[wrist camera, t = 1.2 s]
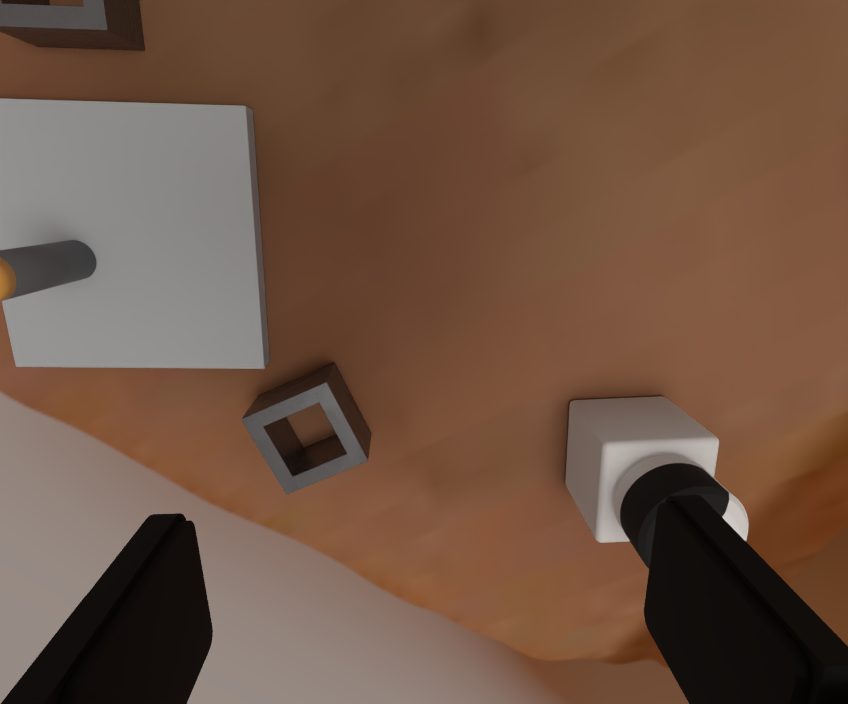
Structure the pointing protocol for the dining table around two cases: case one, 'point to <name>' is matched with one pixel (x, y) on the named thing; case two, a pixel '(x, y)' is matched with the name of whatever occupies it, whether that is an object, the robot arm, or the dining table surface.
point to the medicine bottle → (640, 467)
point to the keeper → (131, 235)
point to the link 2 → (282, 444)
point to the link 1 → (74, 24)
